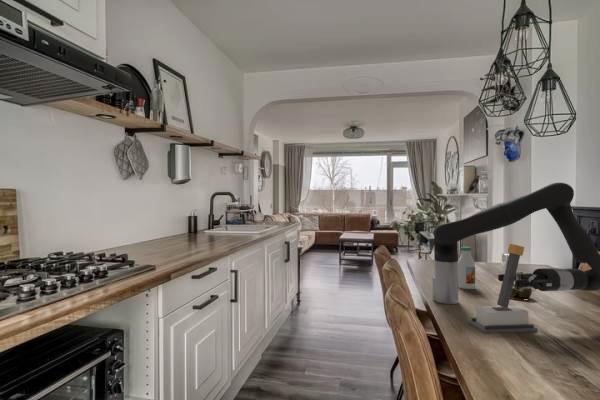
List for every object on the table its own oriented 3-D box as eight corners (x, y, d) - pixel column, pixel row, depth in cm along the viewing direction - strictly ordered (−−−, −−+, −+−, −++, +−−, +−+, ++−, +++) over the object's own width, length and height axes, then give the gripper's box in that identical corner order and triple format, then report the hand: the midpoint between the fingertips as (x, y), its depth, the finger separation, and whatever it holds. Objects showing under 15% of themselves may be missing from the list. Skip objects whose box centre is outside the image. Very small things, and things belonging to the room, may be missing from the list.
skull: (499, 296, 149) (500, 276, 154) (502, 308, 155) (503, 288, 160) (532, 299, 141) (532, 278, 147) (534, 312, 147) (534, 291, 153)
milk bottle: (459, 289, 165) (459, 247, 165) (456, 285, 172) (455, 245, 172) (477, 290, 163) (476, 248, 163) (473, 286, 170) (472, 246, 171)
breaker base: (517, 321, 120) (517, 303, 120) (537, 331, 111) (537, 312, 111) (468, 323, 119) (468, 305, 119) (484, 332, 110) (483, 313, 110)
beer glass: (503, 281, 180) (502, 252, 181) (518, 283, 176) (518, 254, 176) (500, 283, 175) (500, 254, 175) (516, 285, 171) (516, 255, 171)
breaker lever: (503, 305, 117) (517, 245, 117) (509, 308, 113) (524, 247, 114) (495, 303, 116) (509, 243, 117) (501, 306, 113) (516, 244, 114)
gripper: (536, 264, 123) (493, 265, 122) (570, 272, 109) (522, 273, 108) (536, 285, 123) (493, 286, 122) (570, 296, 109) (522, 297, 108)
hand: (507, 280), depth 115 cm, fingers open, 8 cm apart
